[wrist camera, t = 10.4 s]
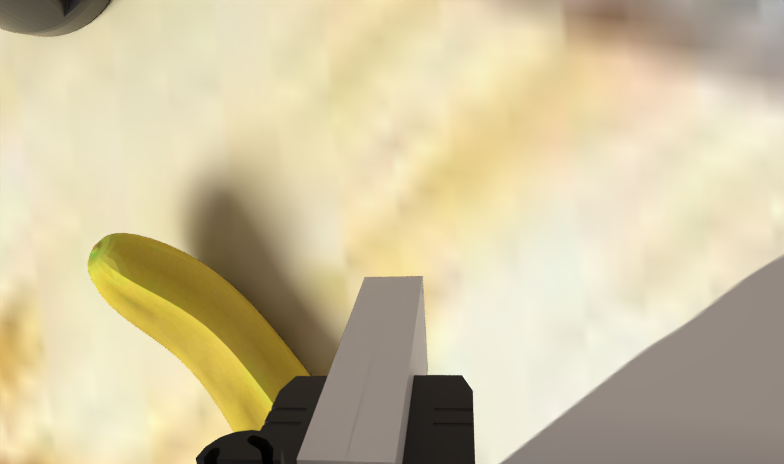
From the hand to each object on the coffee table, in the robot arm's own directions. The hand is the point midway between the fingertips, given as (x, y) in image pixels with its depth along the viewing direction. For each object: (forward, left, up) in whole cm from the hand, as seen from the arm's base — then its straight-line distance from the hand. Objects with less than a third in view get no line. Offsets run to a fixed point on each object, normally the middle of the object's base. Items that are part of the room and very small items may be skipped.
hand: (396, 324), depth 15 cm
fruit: (-17, -16, -30) cm, 38 cm away
